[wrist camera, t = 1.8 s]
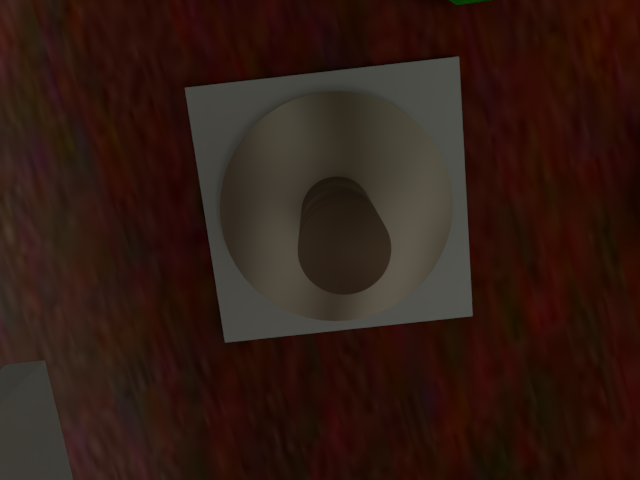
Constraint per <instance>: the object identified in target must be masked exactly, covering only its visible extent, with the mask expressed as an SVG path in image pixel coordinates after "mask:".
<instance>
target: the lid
mask: <svg viewBox="0 0 640 480" xmlns="http://www.w3.org/2000/svg"><path fill="white" fill-rule="evenodd" d="M452 214H453V198H452V190H451V183H450V179H449V175H448V171H447V168H446V166H445V163H444V161H443V159H442V156H441V154H440V152H439V151H438V149H437V147H436V146H435V144H434V142H433V141H432V140H431V138H430V137H429V136H428V134H427V133H426V132H425V131H424V129H423V128H422V127H421V126H419V125H418V124H417V123H416V122H415V121H414V120H413V119H412V118H411V117H409V116H408V115H407V114H405V113H404V112H403V111H401V110H400V109H398V108H396V107H394V106H393V105H391V104H389V103H387V102H385V101H382V100H379V99H377V98H374V97H372V96H367V95H363V94H359V93H352V92H341V91H338V92H322V93H316V94H311V95H307V96H304V97H301V98H297V99H294V100H292V101H290V102H288V103H286V104H284V105H281V106H279V107H278V108H276V109H275V110H273V111H272V112H270V113H269V114H267V115H266V116H264V117H263V118H262V119H261V120H260V121H259V122H258V123H256V124H255V125H254V126H253V127H252V128H251V129H250V131H249V132H248V133H247V134H246V135H245V136H244V137H243V139H242V140H241V142H240V143H239V145H238V146H237V148H236V149H235V151H234V153H233V155H232V157H231V159H230V161H229V163H228V166H227V169H226V172H225V175H224V178H223V183H222V188H221V194H220V219H221V227H222V231H223V236H224V240H225V243H226V245H227V248H228V251H229V253H230V255H231V257H232V259H233V261H234V263H235V265H236V267H237V268H238V269H239V271H240V272H241V274H242V275H243V277H244V278H245V279H246V280H247V281H248V282H249V283H250V285H251V286H252V287H253V288H254V289H255V290H256V291H258V292H259V293H260V294H261V295H262V296H264V297H265V298H266V299H268V300H269V301H271V302H272V303H274V304H275V305H277V306H279V307H281V308H283V309H285V310H287V311H289V312H291V313H294V314H297V315H300V316H303V317H307V318H311V319H316V320H325V321H347V320H354V319H359V318H364V317H367V316H371V315H374V314H377V313H379V312H382V311H384V310H386V309H388V308H390V307H392V306H394V305H395V304H397V303H399V302H400V301H402V300H403V299H405V298H406V297H407V296H409V295H410V294H411V293H412V292H414V291H415V290H416V289H417V288H418V287H419V286H420V285H421V284H422V283H423V282H424V281H425V279H426V278H427V277H428V275H429V274H430V273H431V271H432V270H433V269H434V267H435V265H436V264H437V262H438V260H439V258H440V257H441V254H442V252H443V250H444V247H445V245H446V243H447V239H448V235H449V232H450V228H451V221H452Z"/></svg>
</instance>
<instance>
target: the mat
mask: <svg viewBox="0 0 640 480" xmlns="http://www.w3.org/2000/svg"><path fill="white" fill-rule="evenodd" d="M338 91H341V92H352V93H359V94H363V95H367V96H372V97H374V98H377V99H379V100H382V101H385V102H387V103H389V104H391V105H393V106H394V107H396V108H398V109H400V110H401V111H403V112H404V113H405V114H407V115H408V116H409V117H411V118H412V119H413V120H414V121H415V122H416V123H417V124H418V125H419V126H421V127H422V128H423V129H424V131H425V132H426V133H427V134H428V136H429V137H430V138H431V140H432V141H433V142H434V144H435V146H436V147H437V149H438V151H439V152H440V154H441V156H442V159H443V161H444V163H445V166H446V168H447V171H448V175H449V179H450V183H451V190H452V198H453V214H452V221H451V228H450V232H449V235H448V239H447V243H446V245H445V247H444V250H443V252H442V254H441V257H440V258H439V260H438V262H437V264H436V265H435V267H434V269H433V270H432V271H431V273H430V274H429V275H428V277H427V278H426V279H425V281H424V282H423V283H422V284H421V285H420V286H419V287H418V288H417V289H416V290H415V291H414V292H412V293H411V294H410V295H409V296H407V297H406V298H405V299H403V300H402V301H400V302H399V303H397V304H395V305H394V306H392V307H390V308H388V309H386V310H384V311H382V312H379V313H377V314H374V315H371V316H367V317H364V318H359V319H354V320H347V321H325V320H316V319H311V318H307V317H303V316H300V315H297V314H294V313H291V312H289V311H287V310H285V309H283V308H281V307H279V306H277V305H275V304H274V303H272V302H271V301H269V300H268V299H266V298H265V297H264V296H262V295H261V294H260V293H259V292H258V291H256V290H255V289H254V288H253V287H252V286H251V285H250V283H249V282H248V281H247V280H246V279H245V278H244V277H243V275H242V274H241V272H240V271H239V269H238V268H237V267H236V265H235V263H234V261H233V259H232V257H231V255H230V253H229V251H228V248H227V245H226V243H225V240H224V236H223V231H222V227H221V219H220V194H221V188H222V183H223V178H224V175H225V172H226V169H227V166H228V163H229V161H230V159H231V157H232V155H233V153H234V151H235V149H236V148H237V146H238V145H239V143H240V142H241V140H242V139H243V137H244V136H245V135H246V134H247V133H248V132H249V131H250V129H251V128H252V127H253V126H254V125H255V124H256V123H258V122H259V121H260V120H261V119H262V118H263V117H264V116H266V115H267V114H269V113H270V112H272V111H273V110H275V109H276V108H278V107H279V106H281V105H284V104H286V103H288V102H290V101H292V100H294V99H297V98H301V97H304V96H307V95H311V94H316V93H322V92H338ZM185 94H186V100H187V106H188V113H189V119H190V125H191V131H192V138H193V144H194V150H195V157H196V163H197V169H198V176H199V182H200V188H201V195H202V201H203V207H204V214H205V220H206V226H207V232H208V239H209V245H210V251H211V258H212V264H213V270H214V277H215V283H216V289H217V296H218V302H219V308H220V315H221V321H222V327H223V333H224V340H225V343H226V342H235V341H244V340H254V339H263V338H272V337H282V336H291V335H300V334H310V333H319V332H328V331H338V330H347V329H356V328H366V327H375V326H384V325H394V324H403V323H412V322H422V321H431V320H440V319H450V318H459V317H468V316H473V313H472V294H471V275H470V255H469V236H468V217H467V198H466V179H465V160H464V141H463V122H462V103H461V84H460V65H459V57H451V58H442V59H433V60H424V61H415V62H407V63H398V64H389V65H380V66H371V67H363V68H354V69H345V70H336V71H327V72H319V73H310V74H301V75H292V76H283V77H275V78H266V79H257V80H248V81H239V82H231V83H222V84H213V85H204V86H195V87H187V88H185Z"/></svg>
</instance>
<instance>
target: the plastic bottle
mask: <svg viewBox="0 0 640 480" xmlns="http://www.w3.org/2000/svg"><path fill="white" fill-rule="evenodd" d="M449 1H451V2H452V3H454V4H456V5H461V4H468V3H475V2H483V1H490V0H449Z"/></svg>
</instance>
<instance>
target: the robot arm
mask: <svg viewBox="0 0 640 480" xmlns="http://www.w3.org/2000/svg"><path fill="white" fill-rule="evenodd" d="M0 480H73V477H72V472H71V468H70V464H69V460H68V456H67V451H66V447H65V443H64V439H63V435H62V430H61V426H60V422H59V418H58V414H57V409H56V405H55V401H54V397H53V393H52V388H51V384H50V380H49V376H48V372H47V367H46V363H45V360H44V361H34V362H24V363H15V364H7V365H5V366H4V367H3V368H2V369H1V370H0Z"/></svg>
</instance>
